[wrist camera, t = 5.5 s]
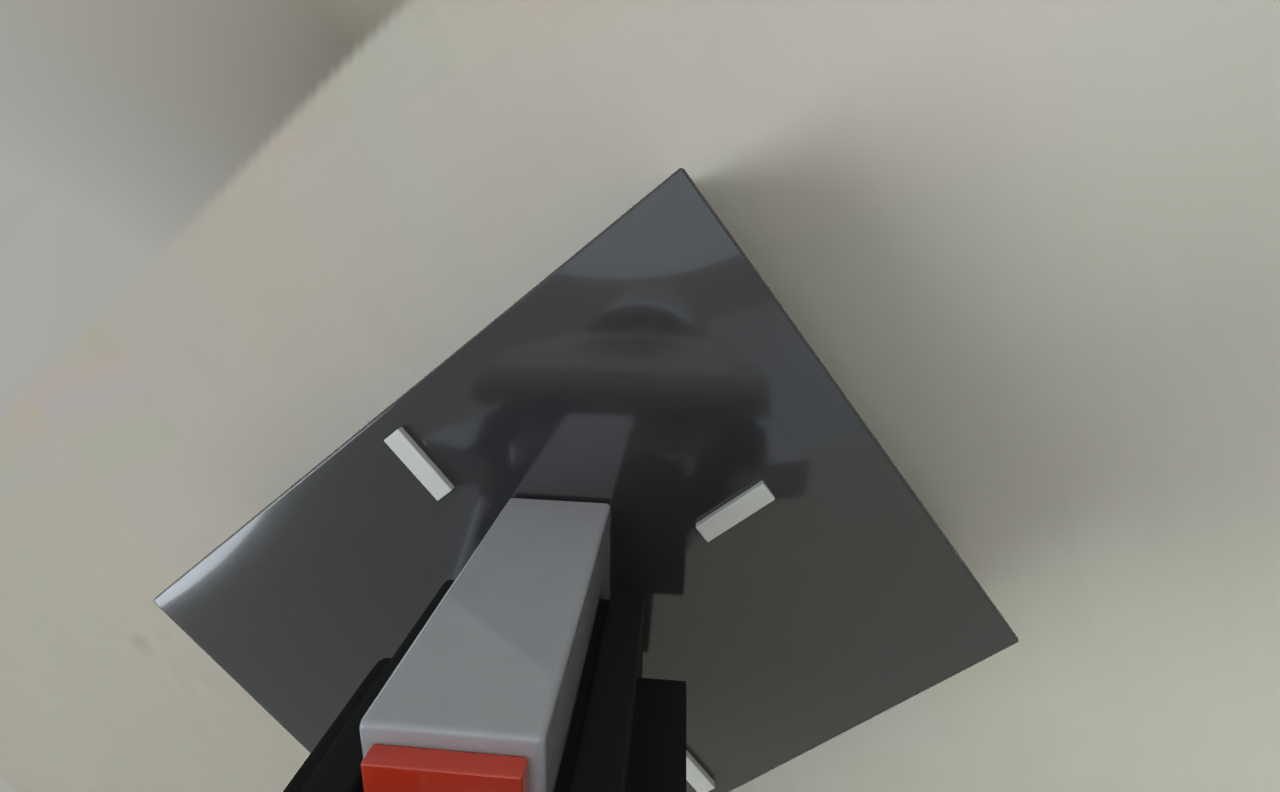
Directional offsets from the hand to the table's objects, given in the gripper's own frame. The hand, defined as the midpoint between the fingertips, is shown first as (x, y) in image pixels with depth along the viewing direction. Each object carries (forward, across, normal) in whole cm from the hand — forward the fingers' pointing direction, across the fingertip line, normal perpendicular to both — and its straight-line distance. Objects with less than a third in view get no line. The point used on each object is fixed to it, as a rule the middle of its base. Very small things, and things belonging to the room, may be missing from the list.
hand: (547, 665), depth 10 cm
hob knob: (+1, 0, 0) cm, 1 cm away
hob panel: (+4, 0, 0) cm, 4 cm away
